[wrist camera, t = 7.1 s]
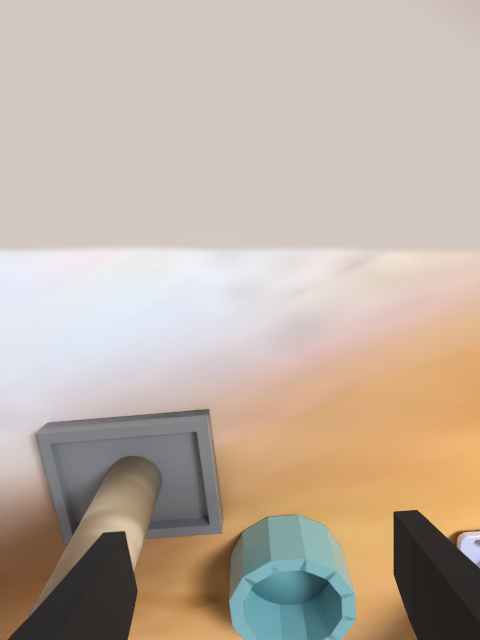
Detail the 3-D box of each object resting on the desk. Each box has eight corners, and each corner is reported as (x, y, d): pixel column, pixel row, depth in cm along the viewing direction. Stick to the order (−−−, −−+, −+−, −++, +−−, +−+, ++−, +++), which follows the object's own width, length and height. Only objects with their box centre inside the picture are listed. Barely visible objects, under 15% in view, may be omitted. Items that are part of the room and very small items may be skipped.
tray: (209, 409, 20) (207, 420, 19) (223, 517, 22) (221, 533, 21) (47, 422, 21) (36, 434, 20) (73, 528, 22) (64, 544, 21)
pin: (157, 452, 20) (103, 591, 13) (166, 499, 21) (120, 658, 13) (103, 458, 21) (17, 599, 13) (114, 504, 21) (39, 664, 14)
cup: (339, 511, 22) (353, 555, 19) (343, 600, 24) (356, 653, 21) (226, 520, 22) (223, 564, 19) (238, 607, 24) (237, 660, 21)
